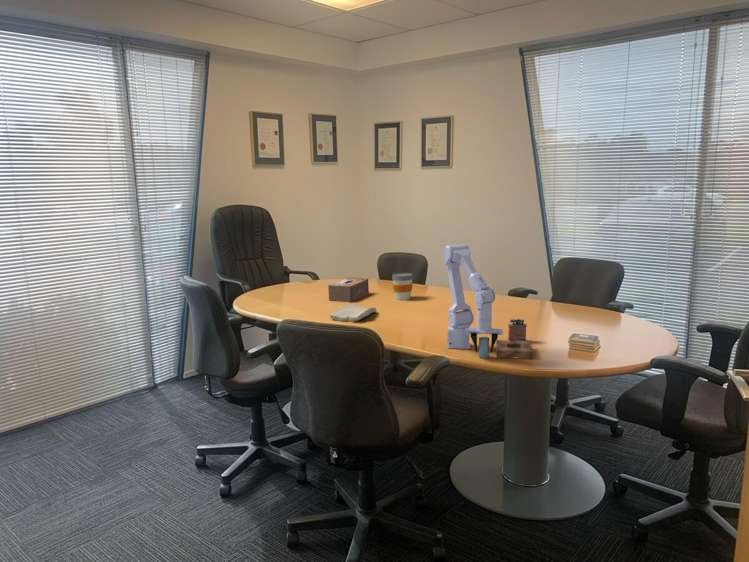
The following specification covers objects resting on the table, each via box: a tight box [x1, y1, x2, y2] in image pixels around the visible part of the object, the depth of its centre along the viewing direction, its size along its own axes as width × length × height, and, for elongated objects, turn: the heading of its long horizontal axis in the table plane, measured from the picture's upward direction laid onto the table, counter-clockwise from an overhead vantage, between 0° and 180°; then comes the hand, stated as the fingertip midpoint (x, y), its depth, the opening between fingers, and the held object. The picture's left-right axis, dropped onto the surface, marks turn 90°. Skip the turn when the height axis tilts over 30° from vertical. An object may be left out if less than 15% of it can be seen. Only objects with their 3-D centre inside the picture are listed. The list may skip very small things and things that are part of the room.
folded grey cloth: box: [329, 303, 377, 323], centre depth 289 cm, size 24×8×20 cm
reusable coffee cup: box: [391, 272, 414, 301], centre depth 327 cm, size 13×13×15 cm
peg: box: [478, 336, 490, 359], centre depth 218 cm, size 4×4×8 cm
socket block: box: [495, 339, 534, 359], centre depth 223 cm, size 14×14×3 cm
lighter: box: [507, 318, 527, 341], centre depth 238 cm, size 8×3×10 cm, turn 92°
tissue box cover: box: [327, 277, 370, 303], centre depth 336 cm, size 26×14×10 cm, turn 155°
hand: (484, 351), depth 219 cm, fingers open, 5 cm apart
